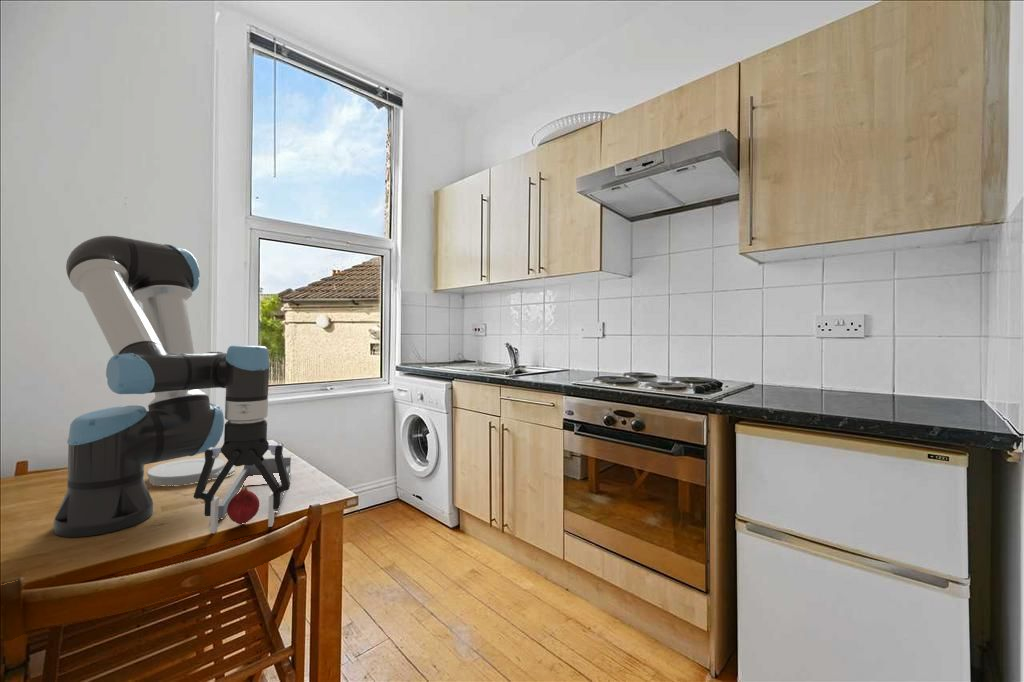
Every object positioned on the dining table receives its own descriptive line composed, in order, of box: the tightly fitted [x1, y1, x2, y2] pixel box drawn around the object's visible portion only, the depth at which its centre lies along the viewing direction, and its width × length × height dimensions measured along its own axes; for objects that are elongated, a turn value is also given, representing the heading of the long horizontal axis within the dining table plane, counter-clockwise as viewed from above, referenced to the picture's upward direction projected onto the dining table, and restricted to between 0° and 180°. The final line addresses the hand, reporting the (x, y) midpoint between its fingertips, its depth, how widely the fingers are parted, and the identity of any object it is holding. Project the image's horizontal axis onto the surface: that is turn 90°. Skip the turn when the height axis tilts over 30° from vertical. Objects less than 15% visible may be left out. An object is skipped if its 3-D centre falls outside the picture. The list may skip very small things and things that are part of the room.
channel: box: [218, 456, 292, 519], centre depth 108 cm, size 11×29×5 cm, turn 22°
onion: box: [227, 486, 260, 525], centre depth 91 cm, size 6×6×8 cm
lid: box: [146, 457, 236, 486], centre depth 119 cm, size 17×20×3 cm
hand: (243, 527), depth 89 cm, fingers open, 9 cm apart
